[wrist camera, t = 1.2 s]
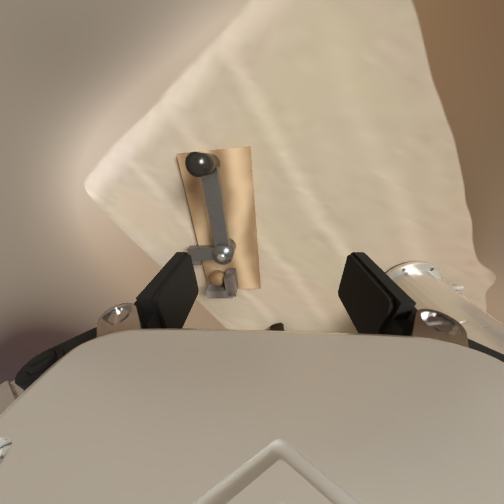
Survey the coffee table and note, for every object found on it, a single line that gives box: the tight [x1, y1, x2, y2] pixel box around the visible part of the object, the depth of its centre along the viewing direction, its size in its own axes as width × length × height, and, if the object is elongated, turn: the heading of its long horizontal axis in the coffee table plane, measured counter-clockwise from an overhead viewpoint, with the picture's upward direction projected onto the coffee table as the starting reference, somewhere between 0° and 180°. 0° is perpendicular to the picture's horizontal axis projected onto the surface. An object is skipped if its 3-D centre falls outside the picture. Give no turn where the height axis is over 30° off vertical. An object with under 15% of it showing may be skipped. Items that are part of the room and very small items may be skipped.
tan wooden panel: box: [177, 147, 260, 298], centre depth 36 cm, size 13×30×5 cm, turn 5°
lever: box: [185, 152, 236, 265], centre depth 31 cm, size 10×20×8 cm, turn 5°
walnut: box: [210, 270, 225, 286], centre depth 41 cm, size 4×4×4 cm
